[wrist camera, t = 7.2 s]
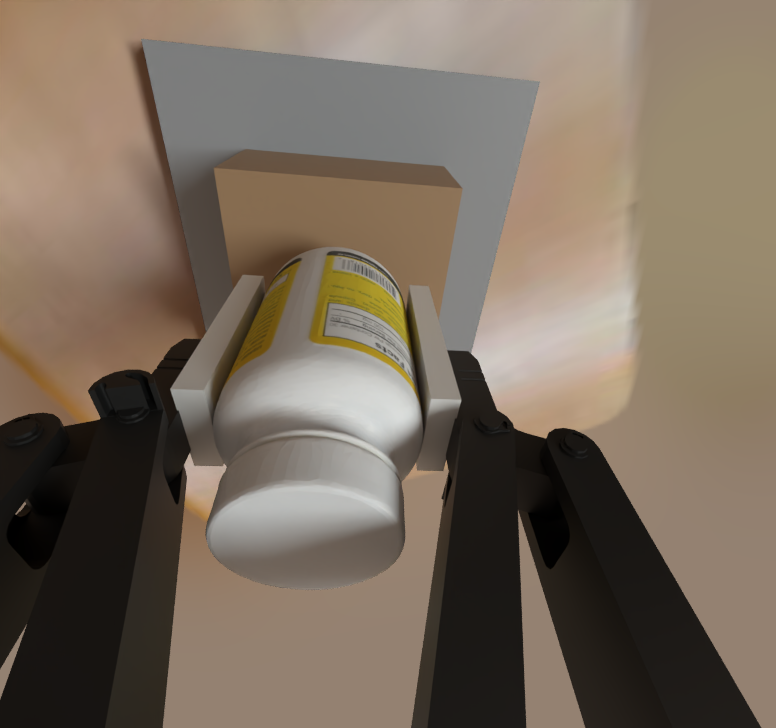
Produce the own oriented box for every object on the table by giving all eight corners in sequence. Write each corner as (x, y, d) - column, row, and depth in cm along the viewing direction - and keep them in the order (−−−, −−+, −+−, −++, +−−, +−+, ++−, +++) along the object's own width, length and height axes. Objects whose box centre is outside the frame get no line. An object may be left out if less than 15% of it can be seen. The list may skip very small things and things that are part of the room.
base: (152, 40, 16) (69, 27, 12) (531, 81, 17) (588, 83, 13) (219, 359, 25) (187, 419, 21) (461, 370, 27) (479, 428, 22)
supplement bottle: (292, 371, 17) (227, 615, 10) (248, 255, 14) (96, 479, 6) (412, 354, 17) (447, 593, 9) (395, 231, 14) (427, 437, 6)
